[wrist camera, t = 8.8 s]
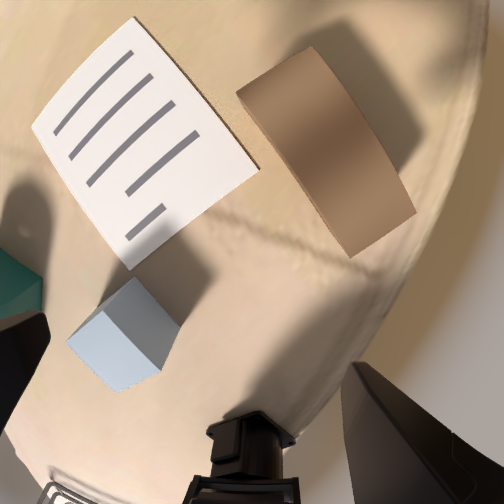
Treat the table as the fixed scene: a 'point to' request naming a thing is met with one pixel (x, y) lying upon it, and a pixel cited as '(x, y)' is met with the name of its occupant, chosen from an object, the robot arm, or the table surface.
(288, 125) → the walnut block
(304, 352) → the table surface
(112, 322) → the cube
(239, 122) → the table surface
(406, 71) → the table surface
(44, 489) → the newton's cradle
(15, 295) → the bracket
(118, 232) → the letter
